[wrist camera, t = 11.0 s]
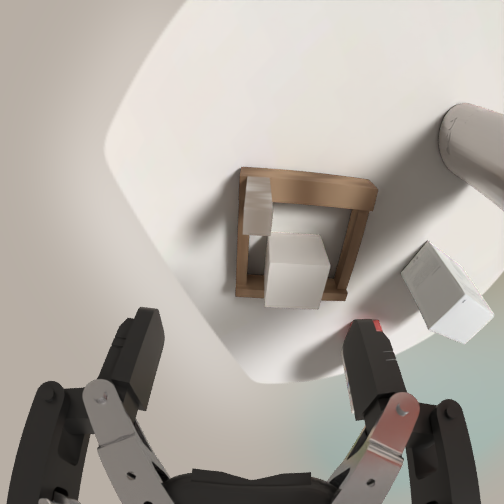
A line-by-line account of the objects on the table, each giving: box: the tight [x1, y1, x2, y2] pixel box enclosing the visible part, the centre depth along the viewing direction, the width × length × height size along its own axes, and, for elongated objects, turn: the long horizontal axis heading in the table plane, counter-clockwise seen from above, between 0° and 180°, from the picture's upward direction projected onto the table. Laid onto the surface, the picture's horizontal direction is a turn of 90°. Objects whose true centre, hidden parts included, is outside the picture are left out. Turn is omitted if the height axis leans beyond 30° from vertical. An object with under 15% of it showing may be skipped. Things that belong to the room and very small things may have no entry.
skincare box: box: [401, 241, 494, 344], centre depth 31 cm, size 10×6×10 cm, turn 63°
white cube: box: [264, 232, 330, 309], centre depth 32 cm, size 6×6×6 cm
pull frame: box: [235, 167, 378, 301], centre depth 28 cm, size 13×15×10 cm
